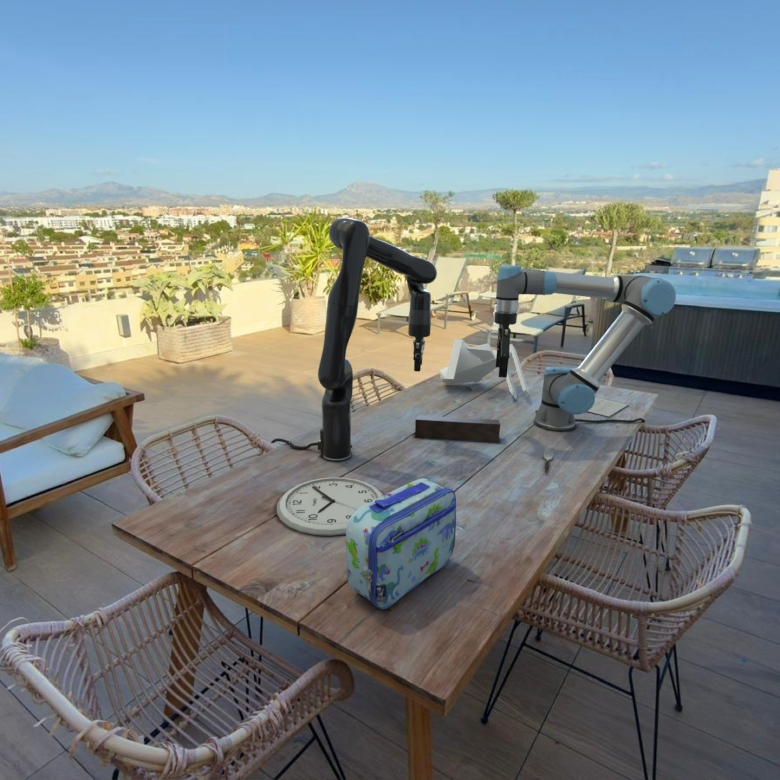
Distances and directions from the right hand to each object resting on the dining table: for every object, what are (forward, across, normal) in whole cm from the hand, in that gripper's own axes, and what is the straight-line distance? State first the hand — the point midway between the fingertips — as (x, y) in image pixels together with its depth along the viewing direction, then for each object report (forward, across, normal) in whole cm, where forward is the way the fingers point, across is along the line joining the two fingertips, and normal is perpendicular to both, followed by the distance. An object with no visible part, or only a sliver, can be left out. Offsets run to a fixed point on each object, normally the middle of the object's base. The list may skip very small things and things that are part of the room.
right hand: (500, 372), depth 184 cm
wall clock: (+25, +57, -48) cm, 79 cm away
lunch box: (+25, +86, -26) cm, 93 cm away
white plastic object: (+25, -54, -4) cm, 59 cm away
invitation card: (+25, -42, +48) cm, 68 cm away
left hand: (-1, +5, -29) cm, 29 cm away
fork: (+25, +21, +15) cm, 36 cm away
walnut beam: (+25, +3, -14) cm, 29 cm away
